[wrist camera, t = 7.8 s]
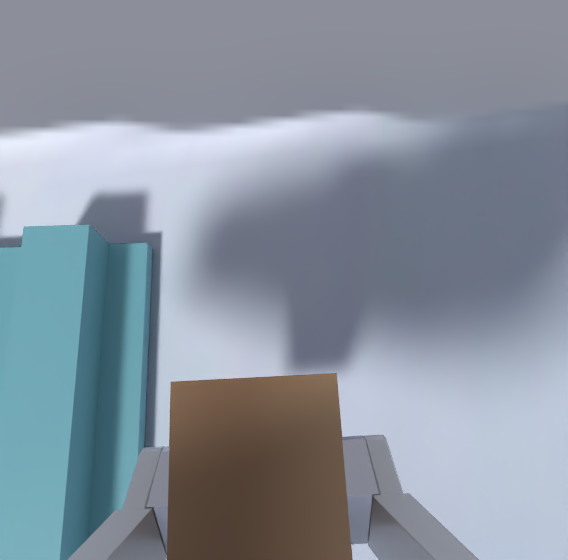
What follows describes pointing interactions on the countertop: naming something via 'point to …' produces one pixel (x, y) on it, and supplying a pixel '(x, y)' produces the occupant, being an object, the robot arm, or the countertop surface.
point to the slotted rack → (69, 385)
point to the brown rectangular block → (257, 470)
